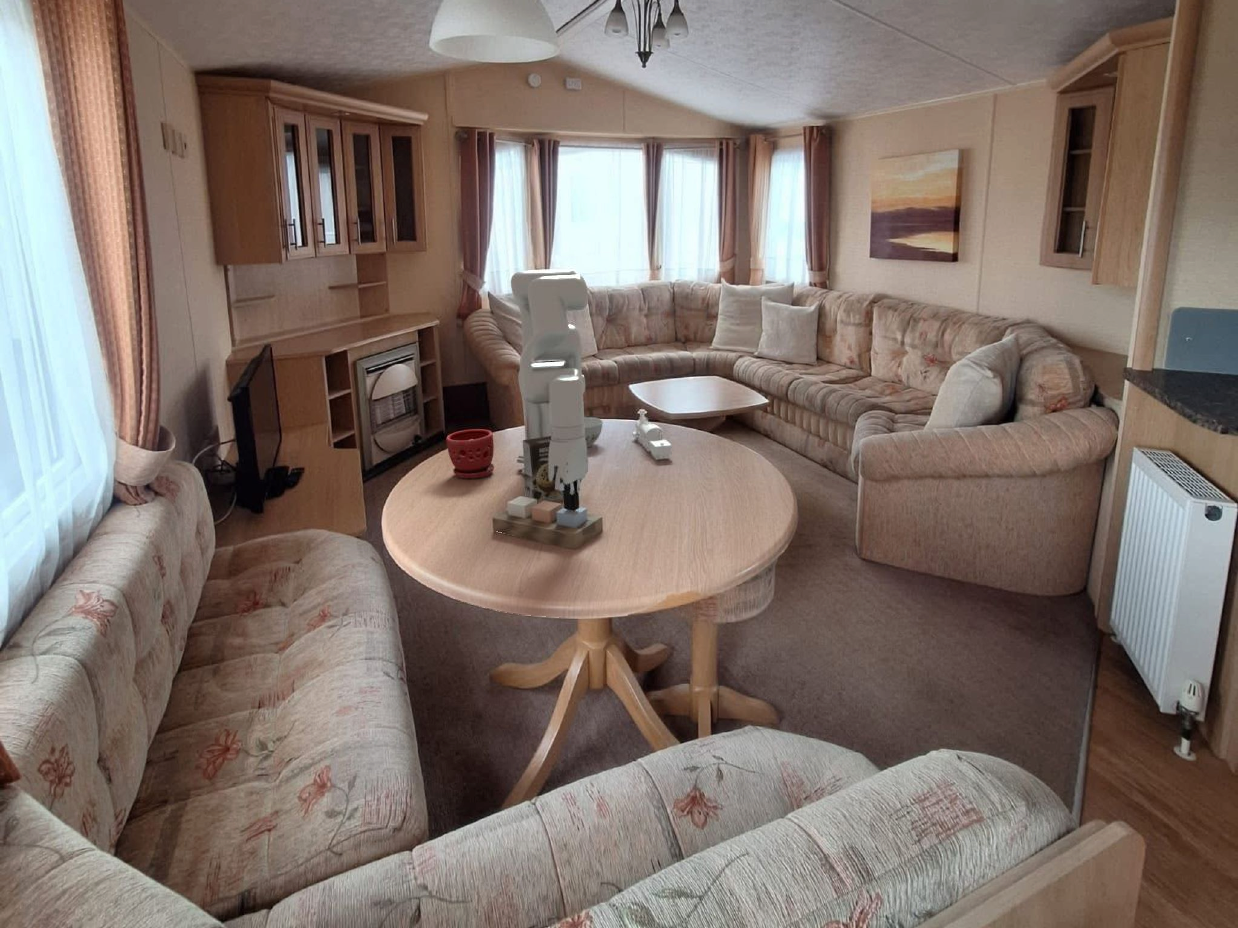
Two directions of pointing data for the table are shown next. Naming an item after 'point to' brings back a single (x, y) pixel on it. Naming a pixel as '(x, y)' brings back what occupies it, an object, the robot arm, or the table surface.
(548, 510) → the key terracotta
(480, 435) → the plant pot
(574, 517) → the key blue
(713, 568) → the table surface
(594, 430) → the teacup
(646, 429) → the toy train
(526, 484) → the coffee box
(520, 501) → the key white
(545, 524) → the key panel
